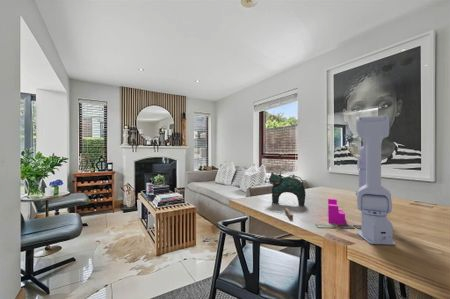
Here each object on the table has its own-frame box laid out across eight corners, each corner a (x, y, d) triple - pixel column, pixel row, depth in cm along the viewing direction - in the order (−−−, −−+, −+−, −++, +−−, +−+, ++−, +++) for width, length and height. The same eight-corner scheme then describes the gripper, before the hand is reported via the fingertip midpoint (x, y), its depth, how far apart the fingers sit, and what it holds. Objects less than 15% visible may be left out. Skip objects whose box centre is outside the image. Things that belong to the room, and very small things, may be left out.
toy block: (345, 224, 92) (345, 207, 92) (328, 222, 94) (328, 205, 94) (342, 215, 105) (342, 199, 105) (328, 213, 108) (328, 198, 108)
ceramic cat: (268, 203, 127) (268, 169, 127) (271, 201, 133) (271, 168, 133) (305, 207, 119) (305, 170, 119) (305, 204, 125) (305, 169, 125)
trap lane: (370, 229, 86) (370, 224, 86) (294, 226, 89) (294, 222, 89) (346, 213, 107) (346, 209, 107) (285, 212, 110) (285, 208, 110)
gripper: (385, 187, 91) (385, 220, 91) (366, 182, 106) (366, 210, 106) (367, 187, 92) (367, 219, 92) (351, 182, 106) (351, 210, 106)
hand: (366, 214), depth 99 cm, fingers closed
